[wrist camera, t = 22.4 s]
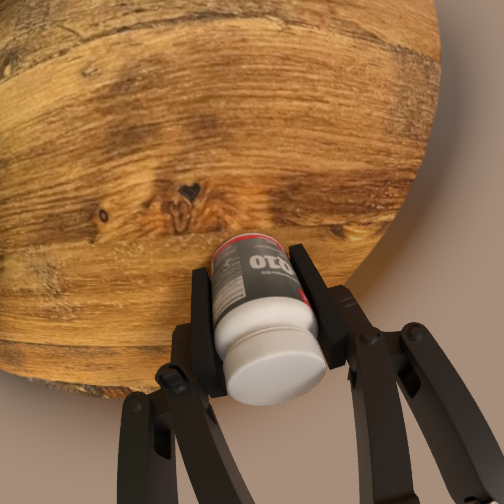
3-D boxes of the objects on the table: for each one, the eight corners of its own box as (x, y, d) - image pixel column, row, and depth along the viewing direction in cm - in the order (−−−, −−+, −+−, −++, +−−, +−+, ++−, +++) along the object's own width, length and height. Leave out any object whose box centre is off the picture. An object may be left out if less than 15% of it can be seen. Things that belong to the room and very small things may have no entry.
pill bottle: (301, 255, 17) (358, 362, 10) (254, 304, 19) (282, 415, 12) (241, 215, 15) (274, 329, 8) (194, 274, 17) (195, 397, 10)
